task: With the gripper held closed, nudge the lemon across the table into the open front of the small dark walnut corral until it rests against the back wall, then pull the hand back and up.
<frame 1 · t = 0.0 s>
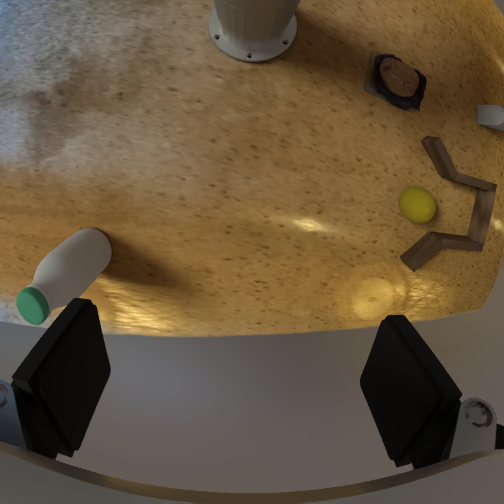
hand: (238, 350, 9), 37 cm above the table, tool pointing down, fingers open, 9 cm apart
lemon: (404, 198, 45), on the table
grey block: (487, 117, 40), on the table
corral: (455, 208, 46), on the table
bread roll: (394, 82, 39), on the table
milk bottle: (93, 247, 46), on the table
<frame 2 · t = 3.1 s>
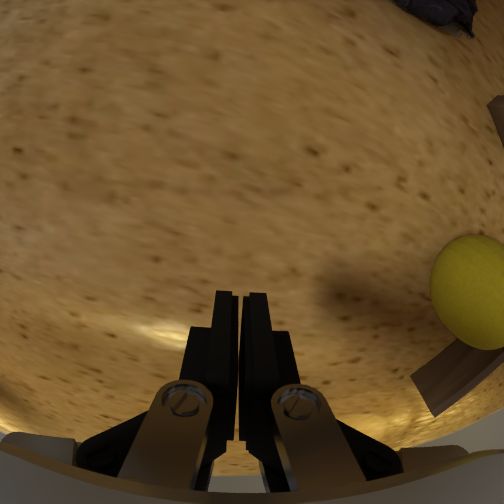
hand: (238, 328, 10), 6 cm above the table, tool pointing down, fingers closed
lemon: (440, 257, 16), on the table
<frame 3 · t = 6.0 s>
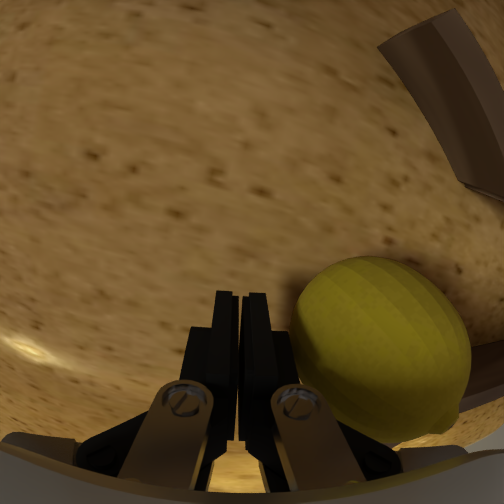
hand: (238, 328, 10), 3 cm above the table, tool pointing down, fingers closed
lemon: (316, 282, 13), on the table, touching gripper
corral: (496, 281, 14), on the table
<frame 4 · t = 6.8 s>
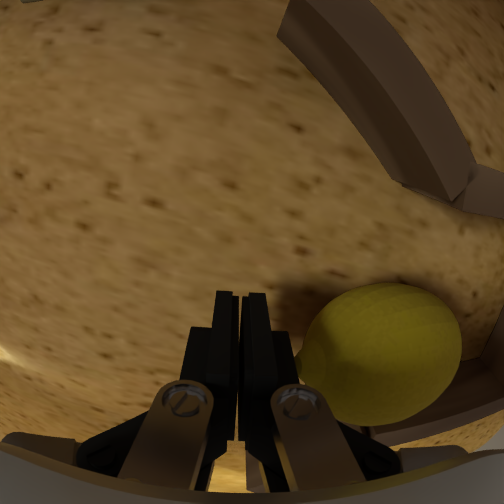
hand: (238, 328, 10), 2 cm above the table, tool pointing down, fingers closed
lemon: (288, 366, 9), point 4 cm above the table, touching gripper
corral: (457, 295, 13), on the table
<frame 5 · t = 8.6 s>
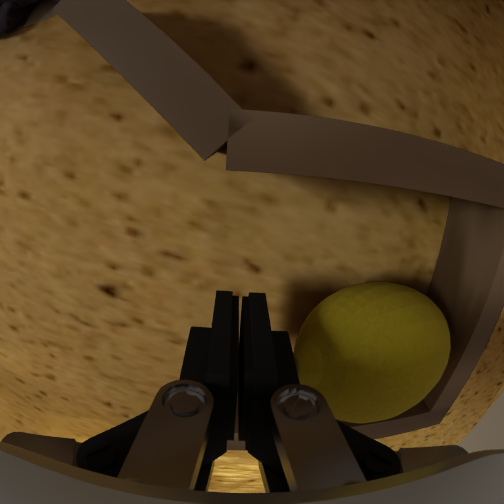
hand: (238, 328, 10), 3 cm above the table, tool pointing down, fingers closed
lemon: (285, 367, 9), point 4 cm above the table, touching corral, gripper
corral: (340, 285, 13), on the table
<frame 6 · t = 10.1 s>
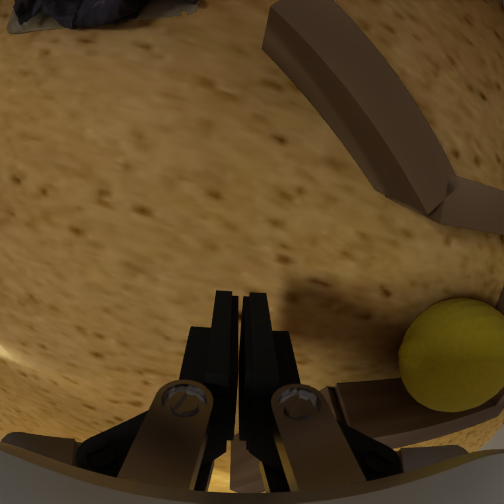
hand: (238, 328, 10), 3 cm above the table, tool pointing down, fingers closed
lemon: (397, 351, 11), point 3 cm above the table
corral: (443, 304, 13), on the table
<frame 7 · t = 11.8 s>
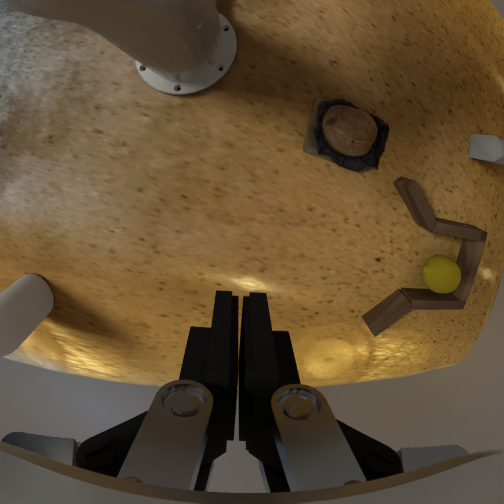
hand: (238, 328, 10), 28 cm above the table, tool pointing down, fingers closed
lemon: (422, 268, 38), point 3 cm above the table
grey block: (482, 149, 35), on the table
corral: (434, 259, 41), on the table
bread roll: (345, 135, 35), on the table
milk bottle: (38, 292, 41), on the table
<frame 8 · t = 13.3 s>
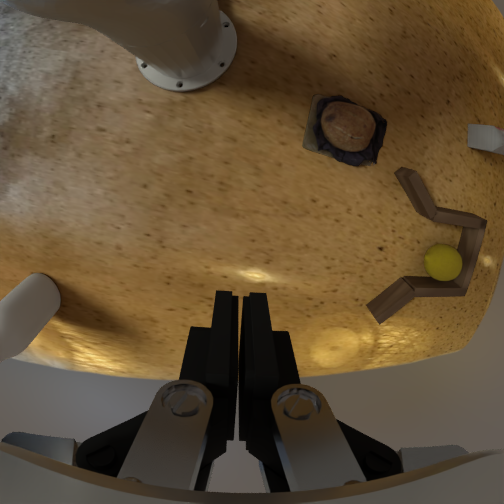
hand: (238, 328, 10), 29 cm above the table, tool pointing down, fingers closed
lemon: (424, 256, 39), point 3 cm above the table
grey block: (480, 138, 35), on the table
corral: (436, 247, 42), on the table
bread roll: (344, 130, 36), on the table
milk bottle: (44, 291, 42), on the table
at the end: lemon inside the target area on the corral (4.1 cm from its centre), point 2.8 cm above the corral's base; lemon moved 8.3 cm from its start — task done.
